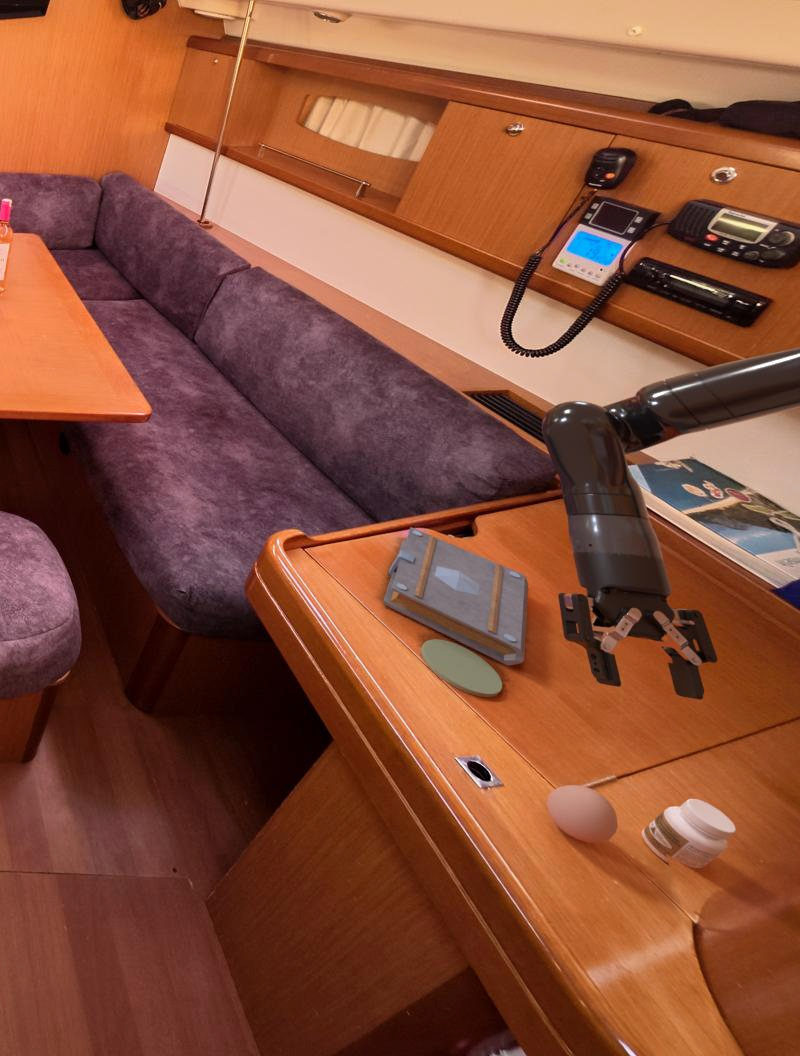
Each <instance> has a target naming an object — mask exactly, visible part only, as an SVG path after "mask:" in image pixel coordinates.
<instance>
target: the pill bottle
mask: <svg viewBox="0 0 800 1056" xmlns="http://www.w3.org/2000/svg"><path fill="white" fill-rule="evenodd" d="M736 830H737V828H736V826H735V824H734V823H733V821H732V820H731V819H730V818H729V817H728V816H727V815H726V814H724V812H722V811H721V810H720V809H718V808H717V807H715V806H714V805H712V804H710V803H708V802H706V801H705V800H700V799H698V798H689V799H687V800H685V801H684V802H683V803H682V804H681V805H680V806H679V805H674V806H668V807H666V809H664V810H663V811H661V813H660V814H658V815H657V816H656V817H655V818H654V819H653V820H652V821H651V822H650V823H649V824H648V825H646V826H645V827H644V828H643V829H642V830H641V837H642V839H643V841H644V843H645V844H646V846H647V847H648V848H649V849H650V850H651V851H652V852H653V853H654V855H656V856H657V857H658V858H660V859H661V860H662V861H663V862H665V863H667V864H668V865H669V860H668V857H667V856H669V857H671V858H672V859H674V860H675V861H677V862H679V863H681V864H683V865H685V866H688V867H691V868H694V869H702V868H703V869H704V867H706V866H707V865H708V864H710V863H711V862H712V861H713V860H715V859H716V858H717V857H719V856H720V855H721V854H722V853H723V852H725V851H726V849H728V842H727V840H728V839H729V838H730V837H731V836H732V835H734V834H735V833H736Z"/></svg>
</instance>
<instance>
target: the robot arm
mask: <svg viewBox="0 0 800 1056" xmlns="http://www.w3.org/2000/svg"><path fill="white" fill-rule="evenodd" d="M799 408H800V347H795V348H791V349H786V350H780V351H776V352H771V353H766V354H762V355H761V354H760V355H756V356H750V357H746V358H741V359H736V360H732V361H728V362H723V363H720V364H716V365H713V366H708V367H704V368H701V369H697V370H694V371H690V372H687V373H683V374H680V375H676V376H673V377H669V378H666V379H663V380H658V381H655V382H652V383H650V384H647V385H645V386H642V387H641V388H639V389H638V390H637V391H636V392H635V395H633V396H631V397H628V398H625V399H622V400H620V401H616V402H613V403H610V404H606V405H603V406H601V405H598V404H597V403H592V402H589V401H581V400H570V401H564V402H561V403H557V404H555V405H554V406H552V407H551V408H549V409H548V410H547V411H546V412H545V414H544V416H543V418H542V420H541V433H542V437H543V441H544V444H545V446H546V449H547V452H548V454H549V458H550V460H551V462H552V465H553V466H554V469H555V471H556V473H557V476H558V478H559V482H560V487H561V494H562V499H563V504H564V508H565V513H566V516H567V530H568V531H567V532H568V538H569V543H570V547H571V551H572V552H571V553H572V556H573V560H574V565H575V569H576V575H577V579H578V583H579V585H580V586H581V587H582V588H584V589H586V595H585V594H583V593H571V592H560V593H558V594H557V595H558V596H557V597H558V603H559V610H560V611H559V612H560V618H561V622H562V623H561V624H562V631H563V637H564V639H565V640H566V641H567V642H571V643H575V644H577V645H578V646H581V647H582V648H583V649H585V651H586V655H587V658H588V663H589V668H590V672H591V674H592V676H593V678H595V680H596V682H597V683H598V684H600V685H605V686H611V687H618V688H619V687H621V686H622V681H621V680H622V679H621V677H620V672H619V669H618V664H617V660H616V655H615V654H614V653H611V652H613V650H614V648H615V647H616V645H617V644H618V643H619V642H620V641H624V640H625V639H626V637H631V638H635V639H643V640H646V641H647V642H648V643H649V644H650V645H651V646H654V647H656V648H657V649H659V650H660V652H661V653H662V654H663V655H664V656H665V657H666V658H667V659H668V660H669V661H670V662H667V665H668V669H669V673H670V677H671V680H672V684H673V689H674V692H675V694H676V696H679V697H683V698H687V699H693V700H698V701H699V700H700V701H701V700H703V699H704V695H705V688H704V686H703V682H702V677H701V673H700V669H699V667H700V666H701V665H702V664H706V663H713V664H714V663H717V662H718V655H717V653H716V650H715V647H714V645H713V641H712V639H711V636H710V632H709V630H708V627H707V624H706V621H705V618H704V615H703V613H702V612H701V611H700V610H698V609H691V608H690V609H689V608H681V607H679V608H676V607H671V606H670V604H669V603H668V600H667V598H668V597H669V596H671V595H673V590H672V586H671V582H670V578H669V575H668V571H667V568H666V563H665V560H664V556H663V553H662V549H661V545H660V541H659V538H658V535H657V533H656V531H655V529H654V527H653V526H652V522H651V520H650V516H649V512H648V508H647V505H646V504H647V503H646V501H645V497H644V494H643V491H642V489H641V486H640V484H639V483H638V481H637V480H636V478H635V477H634V475H632V473H631V471H630V470H629V469H630V468H629V466H628V462H627V458H626V455H630V454H634V453H637V452H640V451H643V450H647V449H649V448H652V447H655V446H657V445H660V444H663V443H666V442H668V441H671V440H673V439H676V438H679V437H681V436H685V435H689V434H695V433H700V432H705V431H707V430H709V431H710V430H713V429H717V428H718V429H719V428H721V427H725V426H730V425H734V424H739V423H743V422H747V421H750V420H754V419H759V418H764V417H767V416H770V415H775V414H779V413H782V412H786V411H787V412H788V411H791V410H795V409H799ZM591 613H593V616H592V615H591ZM591 616H592V617H591ZM694 641H695V642H696V644H697V648H698V649H697V648H696V645H695V643H694Z"/></svg>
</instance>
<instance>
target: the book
mask: <svg viewBox="0 0 800 1056" xmlns="http://www.w3.org/2000/svg"><path fill="white" fill-rule="evenodd" d="M388 576H390V579H389V582H388V584H387V585H388V586H387V589H386V592H385V595H384V598H383V601H382V605H384V606H387V607H388V608H390V609H393V610H394V611H397V612H398V613H401V614H403V615H404V616H406V617H408V618H410V619H413V620H414V621H416V622H418V623H420V624H423V625H425V626H427V627H429V628H431V629H432V630H434V631H437V632H439V633H441V634H443V635H445V636H447V637H449V638H450V639H453V640H455V641H457V642H459V643H461V644H463V645H465V646H466V647H469V648H470V649H471V648H472V649H473V650H475V651H477V652H479V653H481V654H482V655H485V656H487V657H489V658H491V659H493V660H495V661H497V662H499V663H501V664H504V665H505V666H514V665H519V664H522V663H523V662H524V661H525V657H526V655H525V654H526V638H527V637H526V636H527V635H526V634H527V617H528V616H527V615H528V598H529V597H528V595H529V581H528V579H527V577H526V574H524V573H521V572H518V571H517V570H515V569H512V568H509V567H507V566H504V565H502V564H500V563H498V562H495V561H492V560H491V559H487V558H485V557H483V556H480V555H478V554H476V553H474V552H471V551H470V550H466V549H464V548H462V547H459V546H457V545H456V544H455V545H454V544H452V543H450V542H448V541H445V540H444V539H443V540H442V539H441V538H438V537H436V536H433V535H431V534H428V533H426V532H424V531H421V530H418V529H416V528H414V527H412V526H410V527H409V530H408V534H407V537H406V539H402V542H401V544H400V548H399V551H398V554H397V555H396V557H395V558H394V560H393V562H392V564H391V566H390V568H389V571H388Z"/></svg>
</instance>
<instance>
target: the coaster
mask: <svg viewBox="0 0 800 1056" xmlns="http://www.w3.org/2000/svg"><path fill="white" fill-rule="evenodd" d="M420 655H421V658H422V660H423V661H424V662H425V664H426V665H427V667H428V668H429V669H430V670H431V671H432V672H433V673H434V674H435V675H437V677H439V678H440V679H442V680H443V681H444V682H446V683H447V684H449V685H451V686H452V687H454V688H456V689H458V690H459V691H461V692H464V693H467V694H469V695H472V696H475V697H476V696H477V697H481V698H493V697H497V696H498V695H499V694H500V693H501V691H502V690H503V681H502V679H501V676H500V675H499V674H498V672H497V671H496V670H495V669H494V668H493V667H492V666H491V664H489V663H488V662H487V661H486V660H485V659H483V658H482V657H480V656H479V655H478V654H476V653H475V652H473V651H471V650H470V649H468V648H466V647H464V646H461V645H459V644H457V643H454V642H451V641H448V640H443V639H437V638H434V639H429V640H428V639H427V640H426V641H424V643H423V644H422V646H421V648H420Z"/></svg>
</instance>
